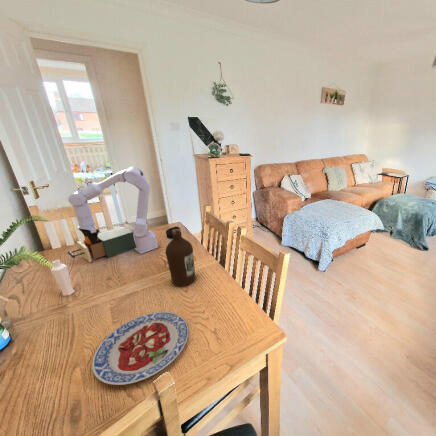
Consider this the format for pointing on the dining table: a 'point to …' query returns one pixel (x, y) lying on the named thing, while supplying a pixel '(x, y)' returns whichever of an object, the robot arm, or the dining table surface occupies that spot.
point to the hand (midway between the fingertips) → (92, 241)
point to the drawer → (89, 250)
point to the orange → (88, 241)
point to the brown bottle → (180, 260)
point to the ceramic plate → (140, 348)
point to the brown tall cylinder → (170, 234)
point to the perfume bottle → (62, 277)
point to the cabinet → (117, 241)
